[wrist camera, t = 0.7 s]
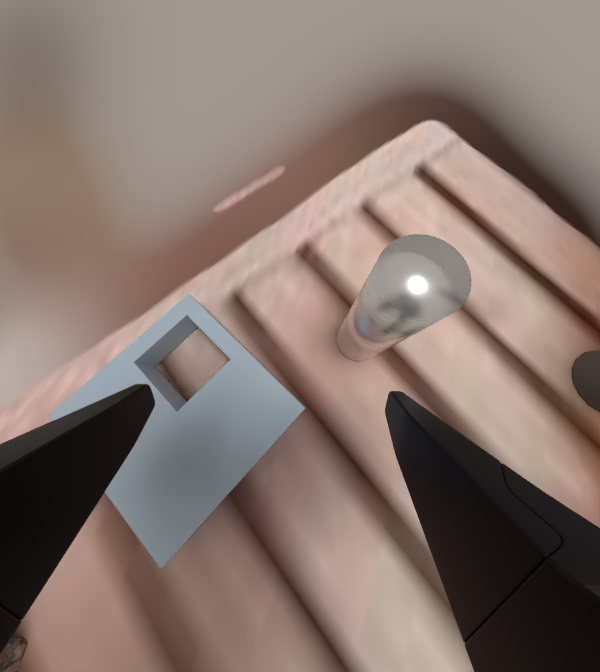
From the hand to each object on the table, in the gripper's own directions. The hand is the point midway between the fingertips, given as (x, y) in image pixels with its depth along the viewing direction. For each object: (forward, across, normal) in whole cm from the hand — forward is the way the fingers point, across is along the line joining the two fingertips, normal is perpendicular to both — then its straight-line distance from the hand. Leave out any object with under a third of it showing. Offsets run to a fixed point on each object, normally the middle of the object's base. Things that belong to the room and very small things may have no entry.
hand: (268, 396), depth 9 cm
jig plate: (+10, +9, +10) cm, 17 cm away
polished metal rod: (+14, -7, +4) cm, 16 cm away
